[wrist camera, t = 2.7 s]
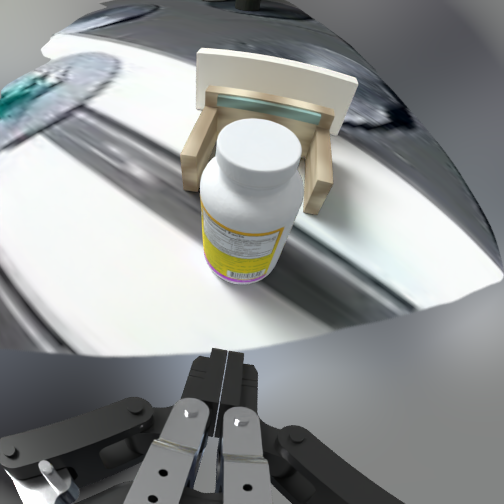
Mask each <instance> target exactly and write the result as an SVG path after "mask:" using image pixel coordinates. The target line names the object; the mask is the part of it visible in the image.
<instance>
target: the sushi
mask: <svg viewBox="0 0 504 504" xmlns="http://www.w3.org/2000/svg"><path fill="white" fill-rule="evenodd" d="M260 1H261V0H236V4H235V8H236V9H239V10H244V11H257V10H259V7H260Z"/></svg>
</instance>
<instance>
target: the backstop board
mask: <svg viewBox="0 0 504 504" xmlns="http://www.w3.org/2000/svg"><path fill="white" fill-rule="evenodd" d="M209 85H212V86H221V87H229V88H236V89H243V90H249V91H255V92H261V93H267V94H272V95H277V96H282V97H287V98H291V99H296V100H300V101H304V102H308V103H312V104H316V105H320V106H324V107H327V108H331V109H334V114H335V117H334V120H333V122H332V125H331V127H330V134H331V135H335V136H337V135H338V133H339V130H340V128H341V125H342V123H343V121H344V118H345V116H346V113H347V111H348V108H349V106H350V104H351V101H352V99H353V96H354V94H355V91H356V89H357V86H358V82H357V79H356V78H355V77H351V76H348V75H345V74H342V73H339V72H335V71H332V70H328V69H325V68H321V67H317V66H313V65H309V64H305V63H301V62H297V61H292V60H287V59H282V58H277V57H272V56H266V55H260V54H254V53H247V52H239V51H231V50H221V49H210V48H201V49H200V50H199V51H198V52H197V60H196V109H201V110H203V108H204V107H205V91H206V89H207V87H208V86H209Z"/></svg>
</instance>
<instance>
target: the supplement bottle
mask: <svg viewBox="0 0 504 504" xmlns="http://www.w3.org/2000/svg"><path fill="white" fill-rule="evenodd" d="M301 154H302V147H301V144H300V141H299V139H298V138H297V137H296V135H295V134H294V133H293V132H292V131H290V130H289V129H288V128H286V127H284V126H282V125H280V124H278V123H275V122H272V121H269V120H264V119H255V118H251V119H242V120H238V121H235V122H232V123H230V124H229V125H227V126H226V127H224V128H223V129H222V130H221V132H220V133H219V135H218V138H217V147H216V156H215V157H214V158H213V159H212V160H211V161H210V162H209V163H208V164H207V166H206V167H205V169H204V171H203V173H202V176H201V181H200V198H201V215H202V233H203V247H204V255H205V259H206V262H207V264H208V266H209V267H210V269H211V270H212V271H213V273H215V274H216V275H217V276H218V277H220V278H221V279H223V280H225V281H227V282H230V283H234V284H251V283H255V282H258V281H260V280H262V279H263V278H265V277H266V276H267V275H269V274H270V272H271V271H272V270H273V269H274V267H275V265H276V263H277V261H278V259H279V257H280V254H281V252H282V249H283V247H284V245H285V242H286V240H287V237H288V235H289V233H290V230H291V228H292V226H293V223H294V221H295V219H296V216H297V214H298V211H299V209H300V207H301V204H302V201H303V196H304V186H303V181H302V178H301V176H300V173H299V172H298V170H297V168H298V165H299V162H300V158H301Z"/></svg>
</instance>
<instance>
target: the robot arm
mask: <svg viewBox="0 0 504 504" xmlns="http://www.w3.org/2000/svg"><path fill="white" fill-rule="evenodd" d="M226 356H227V350H222V349H216V348H212V352H211V355H210V358H208V357H203V356H199V357H198V358H197V359H195V360H194V361H193V364H192V366H191V370H190V372H189V376H188V379H187V381H186V385H185V388H184V391H183V394H182V397H181V399H180V400H179V401H177V402H176V403H175V405H173V406H171V407H166V408H152V406H151V404H150V403H149V402H148V401H146V400H144V399H142V398H139V397H129V398H125V399H123V400H121V401H118V402H115V403H112V404H110V405H107V406H104V407H102V408H99V409H96V410H93V411H91V412H88V413H85V414H82V415H79V416H76V417H73V418H70V419H67V420H63V421H61V422H57V423H54V424H50V425H47V426H44V427H40V428H37V429H33V430H30V431H26V432H22V433H18V434H14V435H10V436H6V437H3V438H1V439H0V464H1V465H2V466H3V467H4V469H5V470H6V472H7V473H8V474H9V476H10V477H11V478H12V479H13V481H14V484H15V486H16V488H17V490H18V493H19V495H20V497H21V499H22V501H23V503H24V504H71V503H73V502H75V501H76V500H77V499H78V497H79V488H82V487H85V486H87V485H90V484H93V483H95V482H98V481H100V480H103V479H104V478H107V477H110V476H112V475H114V474H117V473H119V472H121V471H123V470H125V469H128V468H130V467H132V466H134V465H136V464H138V463H140V462H142V461H143V462H142V465H141V467H140V469H139V471H138V473H137V475H136V477H135V480H134V481H128V482H123V483H121V484H118V485H115V486H113V487H111V488H109V489H107V490H105V491H103V492H101V493H98V494H96V495H94V496H92V497H89V498H87V499H84V500H82V501H80V502H77V503H75V504H273V500H272V491H271V484H272V485H273V486H274V487H275V488H276V489H277V490H278V491H279V492H280V493H281V494H282V495H283V496H285V497H286V498H287V499H288V500H289V501H290V502H291V503H292V504H404V503H403V502H402V501H400V500H399V499H397V498H396V497H394V496H393V495H391V494H390V493H388V492H387V491H385V490H384V489H382V488H381V487H379V486H378V485H377V484H375V483H374V482H372V481H371V480H369V479H368V478H367V477H366V476H364V475H363V474H362V473H360V472H359V471H357V470H356V469H355V468H354V467H352V466H351V465H350V464H348V463H347V462H346V461H344V460H343V459H342V458H341V457H339V456H338V455H337V454H336V453H334V452H333V451H332V450H331V449H329V448H328V447H327V446H326V445H325V444H323V443H322V442H321V441H320V440H319V439H317V438H316V437H315V436H314V435H313V434H311V433H310V432H309V431H308V430H307V429H305V428H303V427H300V426H295V425H291V426H286V427H284V428H282V429H281V430H280V429H277V428H274V427H271V426H269V425H267V424H265V423H264V422H263V421H262V420H261V419H260V418H259V416H258V413H257V390H258V388H257V387H258V372H257V370H256V369H255V367H254V365H249V364H243V360H244V353H240V352H234V351H229V353H228V360H227V365H226V371H225V377H224V383H223V389H222V395H221V401H220V407H219V413H218V419H217V425H216V431H215V437H217V438H219V443H218V449H217V459H216V485H215V493H201V492H199V491H196V490H194V484H195V480H196V477H197V473H198V470H199V467H200V463H201V460H202V457H203V453H204V449H205V447H206V445H207V440H208V436H211V437H213V433H214V427H215V422H216V415H217V410H218V404H219V397H220V392H221V387H222V380H223V375H224V369H225V363H226Z"/></svg>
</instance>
